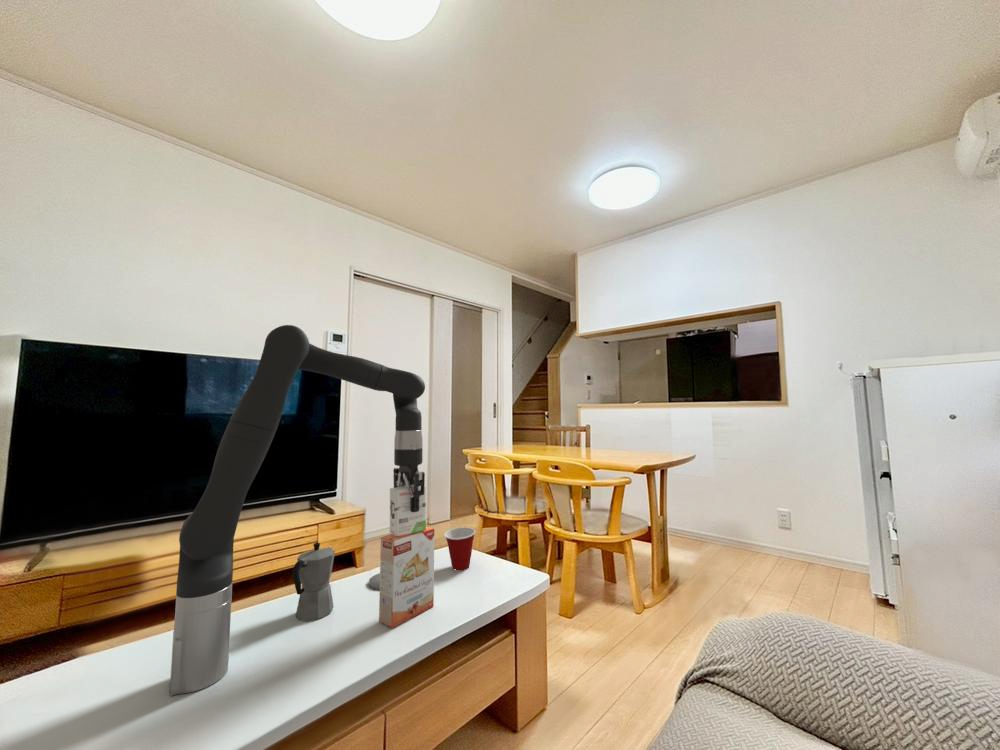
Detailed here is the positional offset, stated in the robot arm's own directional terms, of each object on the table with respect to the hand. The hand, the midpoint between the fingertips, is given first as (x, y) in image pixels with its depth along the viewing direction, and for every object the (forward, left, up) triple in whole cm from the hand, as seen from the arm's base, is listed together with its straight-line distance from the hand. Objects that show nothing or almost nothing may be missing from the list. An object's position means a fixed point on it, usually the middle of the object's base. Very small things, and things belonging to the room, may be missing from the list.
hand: (408, 509), depth 105 cm
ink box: (0, 0, -6) cm, 6 cm away
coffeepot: (-19, +17, -27) cm, 37 cm away
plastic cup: (+28, +17, -27) cm, 42 cm away
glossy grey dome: (+5, +23, -27) cm, 36 cm away
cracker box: (0, 0, -27) cm, 27 cm away
